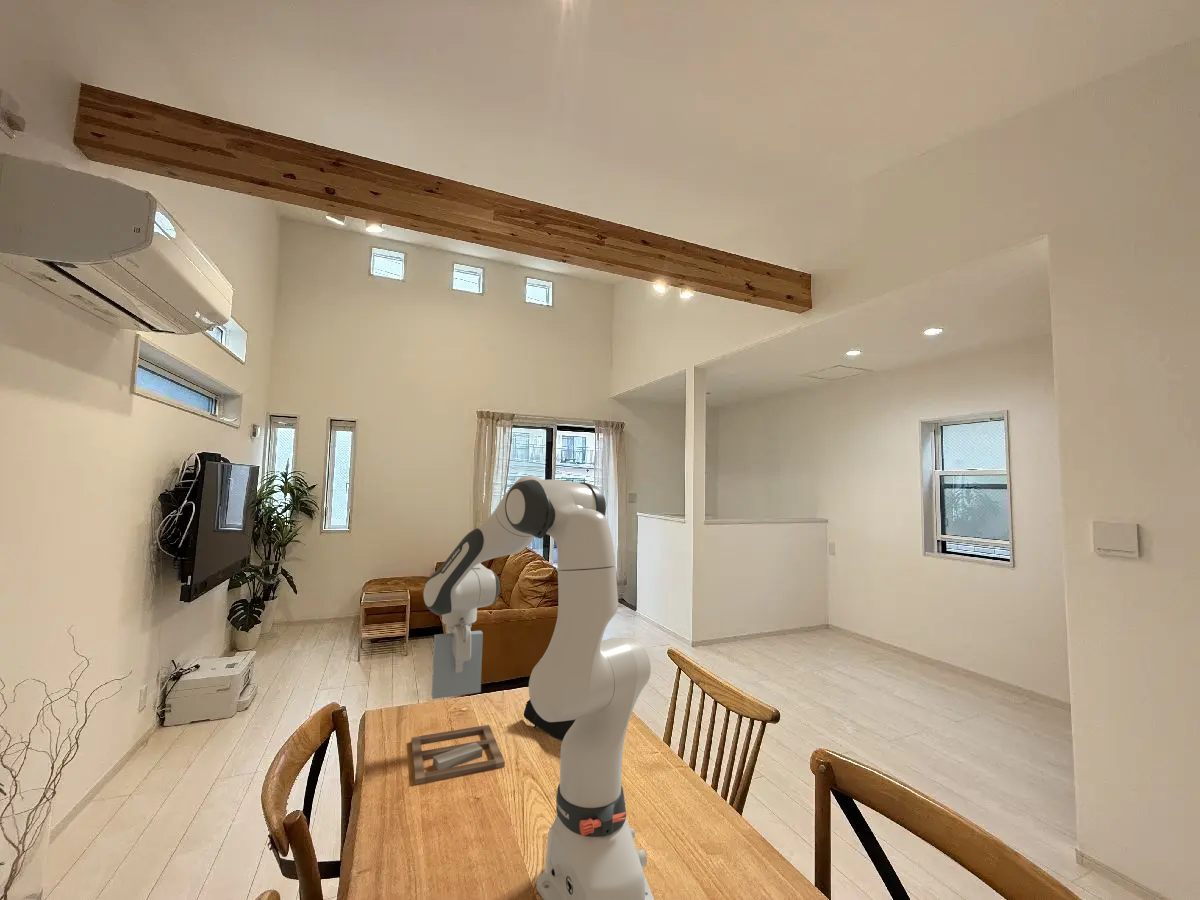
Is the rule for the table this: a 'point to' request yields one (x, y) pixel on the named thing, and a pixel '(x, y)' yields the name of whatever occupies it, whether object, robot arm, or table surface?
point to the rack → (459, 770)
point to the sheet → (444, 667)
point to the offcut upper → (457, 756)
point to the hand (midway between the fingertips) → (457, 668)
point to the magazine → (547, 723)
